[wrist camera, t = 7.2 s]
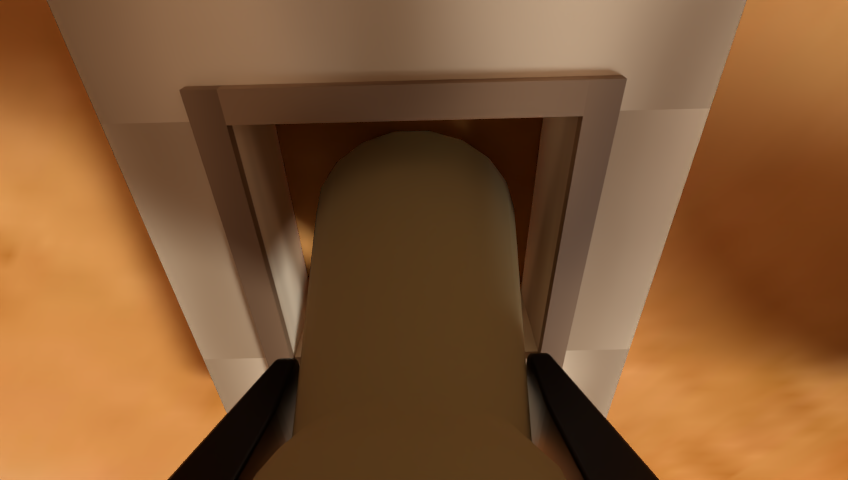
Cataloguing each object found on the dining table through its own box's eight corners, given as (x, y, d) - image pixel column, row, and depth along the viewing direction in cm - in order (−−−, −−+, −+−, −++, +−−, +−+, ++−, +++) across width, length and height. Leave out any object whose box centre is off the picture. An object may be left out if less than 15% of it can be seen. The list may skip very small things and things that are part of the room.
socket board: (721, -190, 10) (838, -236, 7) (575, 382, 21) (599, 452, 18) (72, -172, 10) (-59, -209, 7) (265, 390, 21) (241, 460, 18)
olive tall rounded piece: (315, 117, 12) (2, 684, 3) (537, 143, 13) (841, 704, 4) (316, 289, 15) (169, 802, 6) (491, 305, 16) (584, 805, 7)
